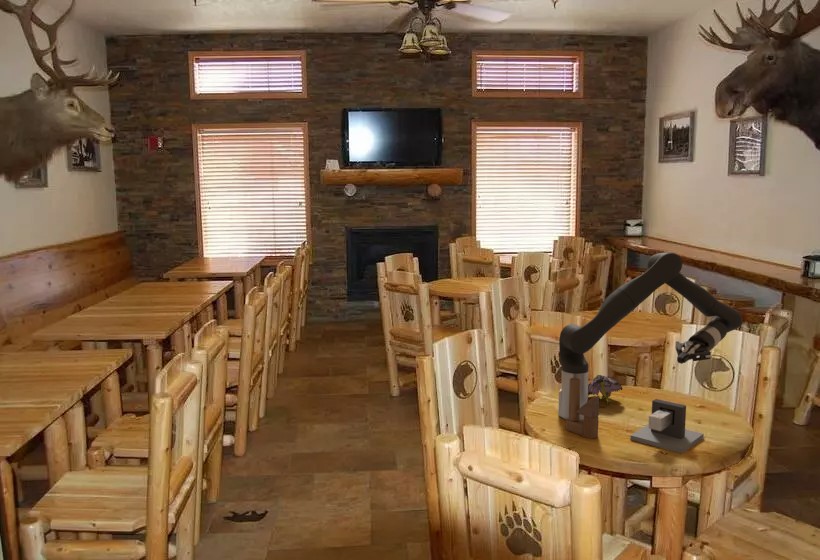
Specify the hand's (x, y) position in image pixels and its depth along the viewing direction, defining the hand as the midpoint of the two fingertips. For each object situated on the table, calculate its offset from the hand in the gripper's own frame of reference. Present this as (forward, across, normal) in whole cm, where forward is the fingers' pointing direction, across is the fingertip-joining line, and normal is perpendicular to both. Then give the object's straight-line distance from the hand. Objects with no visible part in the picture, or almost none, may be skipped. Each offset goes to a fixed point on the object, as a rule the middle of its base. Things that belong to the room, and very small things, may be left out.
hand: (679, 360), depth 227 cm
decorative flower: (0, -30, +29) cm, 42 cm away
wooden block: (+32, -16, +19) cm, 41 cm away
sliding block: (+18, +5, +15) cm, 24 cm away
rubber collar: (+15, +5, +19) cm, 25 cm away
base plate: (+16, +5, +20) cm, 26 cm away
